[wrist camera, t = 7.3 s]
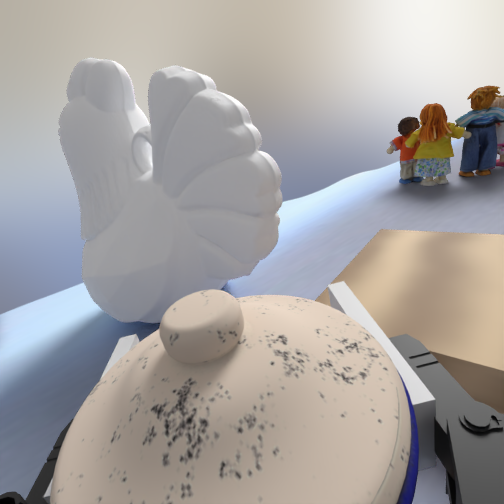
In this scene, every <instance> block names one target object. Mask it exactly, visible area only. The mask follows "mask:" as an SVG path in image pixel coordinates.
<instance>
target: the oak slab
mask: <svg viewBox="0 0 504 504" xmlns="http://www.w3.org/2000/svg"><path fill="white" fill-rule="evenodd" d="M342 281H344V282H345V283H346V285H347V286H348V287H349V288H350V290H351V291H352V292H353V294H354V295H355V296H356V297H357V299H358V300H359V301H360V303H361V304H362V305H363V306H364V308H365V309H366V310H367V312H368V313H369V314H370V316H371V317H372V318H373V319H374V321H375V322H376V323H377V325H378V326H379V327H380V328H381V330H382V331H383V332H384V334H385V335H386V336H387V337H388V338H391V337H395V336H399V335H403V334H408V335H410V336H411V337H413V338H415V339H417V340H419V341H420V342H421V343H422V344H423V345H424V346H425V347H426V348H427V349H428V350H429V352H430V354H432V355H433V356H434V357H435V358H436V359H437V360H438V363H440V364H441V365H442V366H443V367H444V368H445V369H446V370H447V371H448V372H449V373H450V375H451V376H452V377H453V378H454V379H455V380H456V381H457V382H458V383H459V384H460V385H461V387H462V388H463V389H464V390H465V391H466V392H467V393H468V394H469V395H470V396H471V397H472V398H473V399H474V400H475V401H477V402H481V403H484V404H486V405H488V406H490V407H492V408H494V409H495V410H496V411H497V412H498V413H501V414H504V235H499V234H476V233H454V232H431V231H408V230H385V229H381V230H380V231H379V232H378V233H377V234H376V235H375V236H374V237H373V238H372V239H371V240H370V242H369V243H368V244H367V245H366V246H365V247H364V248H363V249H362V250H361V251H360V252H359V253H358V255H357V256H356V257H355V258H354V259H353V260H352V261H351V262H350V263H349V264H348V265H347V266H346V268H345V269H344V270H343V271H342V272H341V273H340V274H339V275H338V276H337V277H336V278H335V280H334V281H333V282H332V283H331V284H334V283H338V282H342ZM315 301H316V302H320V303H322V304H325V305H328V306H330V307H331V304H330V298H329V292H328V287H327V288H326V289H325V290H324V291H323V293H322V294H321V295H320V296H319V297H318V298H317V299H316V300H315Z"/></svg>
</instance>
